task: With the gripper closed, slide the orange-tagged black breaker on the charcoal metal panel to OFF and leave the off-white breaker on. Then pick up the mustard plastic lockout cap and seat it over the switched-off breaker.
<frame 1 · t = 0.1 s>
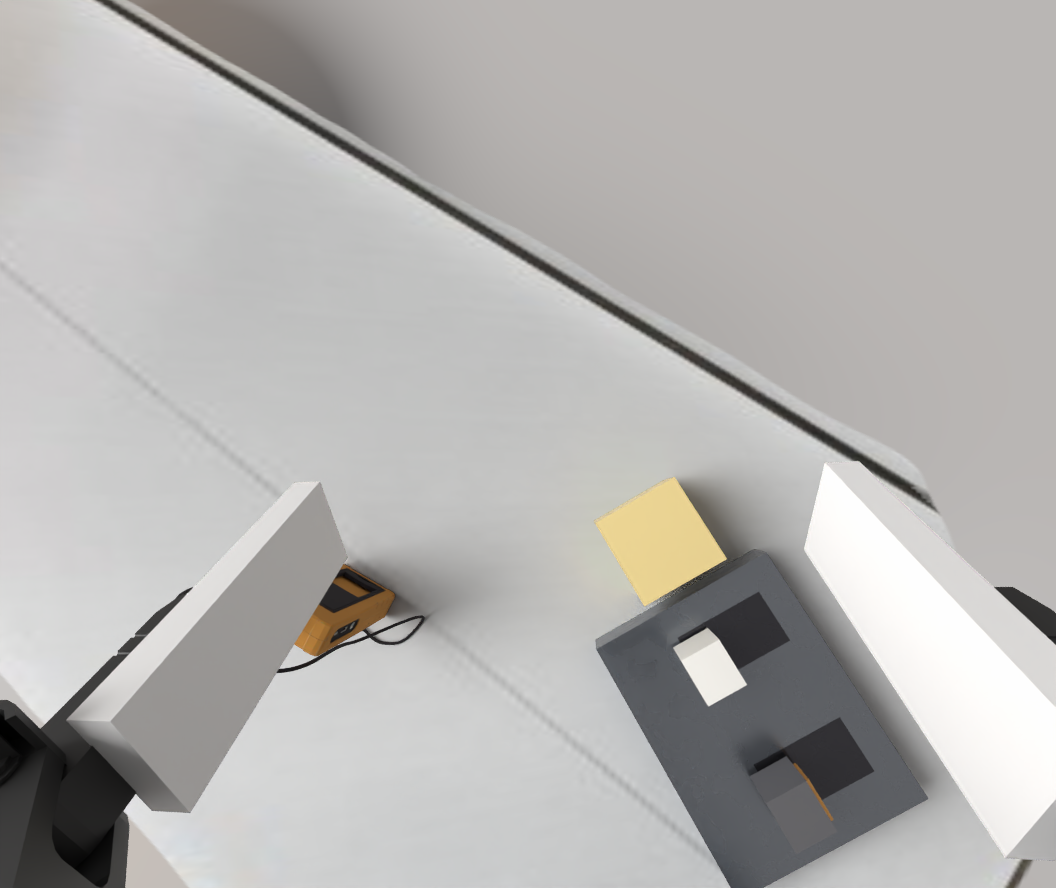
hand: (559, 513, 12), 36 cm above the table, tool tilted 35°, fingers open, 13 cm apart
multimeter: (349, 619, 49), on the table
lockout cap: (650, 536, 46), on the table
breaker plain: (707, 665, 40), point 5 cm above the table, slide at 0.0 cm
breaker panel: (741, 705, 44), on the table
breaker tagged: (792, 801, 37), point 5 cm above the table, slide at 0.0 cm
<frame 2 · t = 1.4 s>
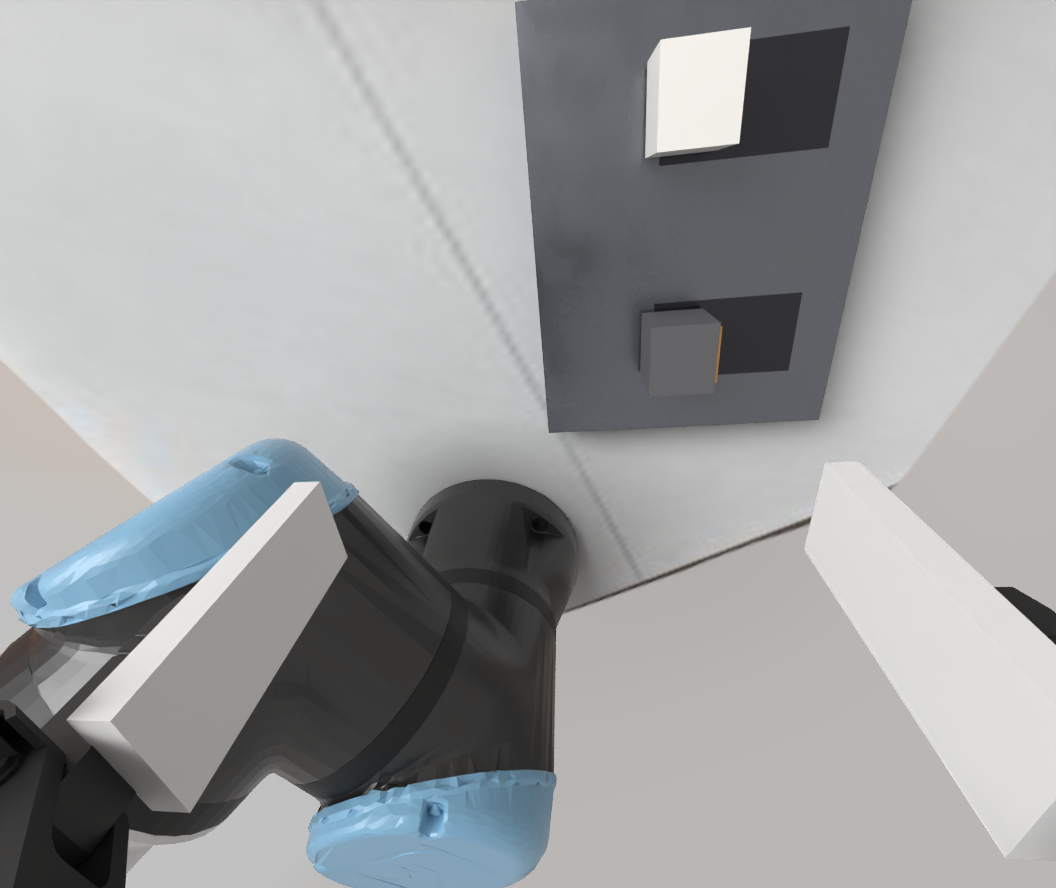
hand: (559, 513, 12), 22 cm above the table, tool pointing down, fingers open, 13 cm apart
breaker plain: (691, 101, 21), point 5 cm above the table, slide at 0.0 cm
breaker panel: (680, 241, 29), on the table
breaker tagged: (679, 351, 27), point 5 cm above the table, slide at 0.0 cm
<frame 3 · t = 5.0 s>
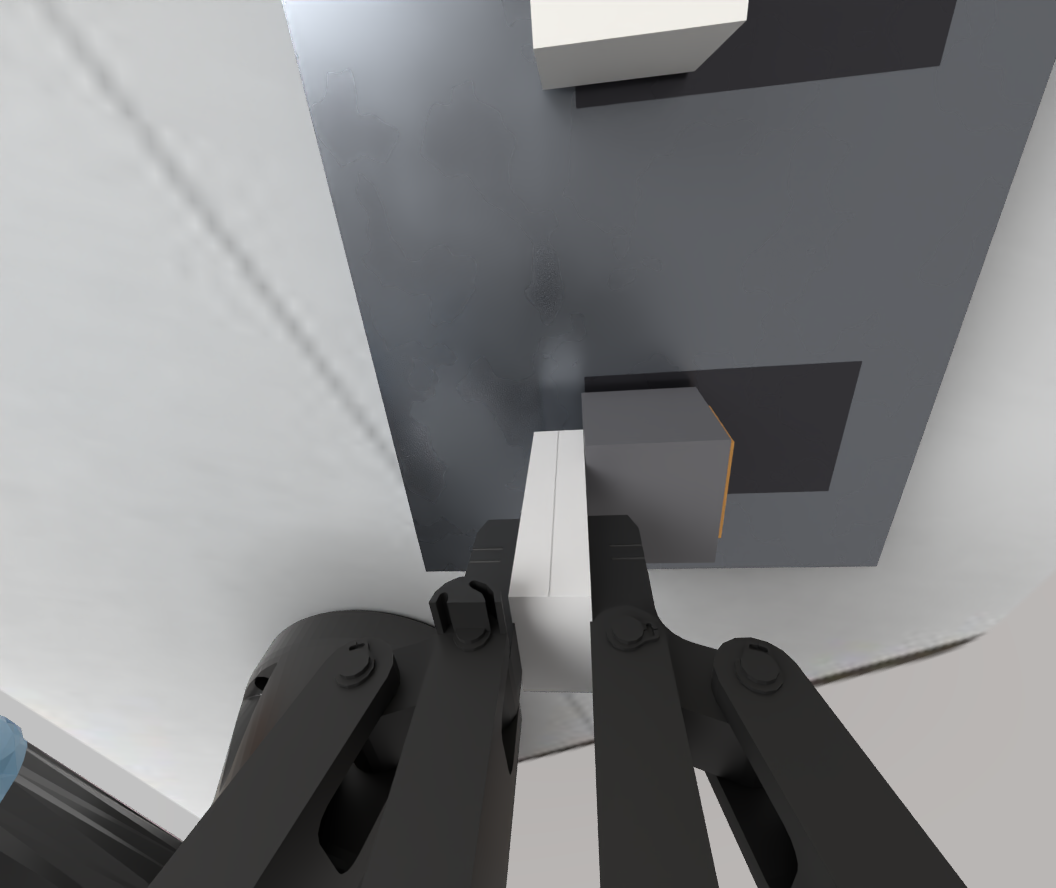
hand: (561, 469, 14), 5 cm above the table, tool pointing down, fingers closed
breaker panel: (636, 259, 16), on the table
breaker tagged: (649, 472, 14), point 5 cm above the table, slide at 0.7 cm, touching gripper
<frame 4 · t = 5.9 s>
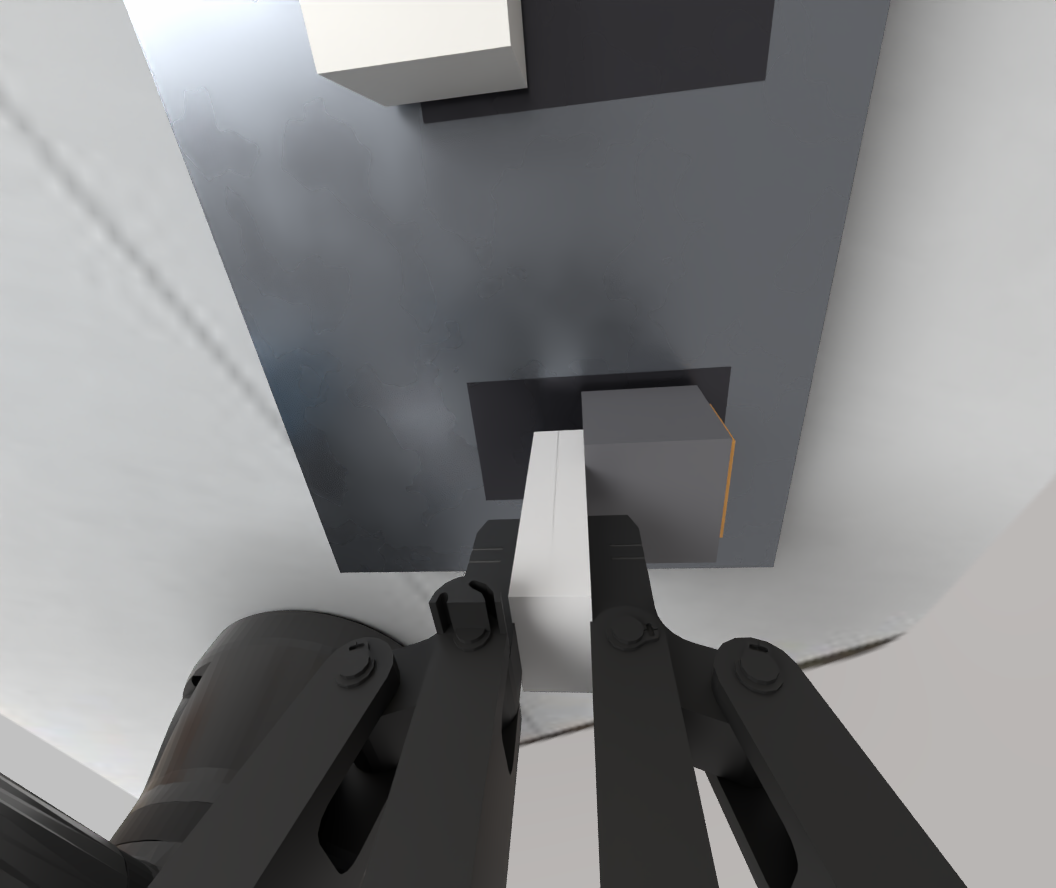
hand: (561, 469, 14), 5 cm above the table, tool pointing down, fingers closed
breaker panel: (524, 267, 16), on the table
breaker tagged: (649, 471, 14), point 5 cm above the table, slide at 4.6 cm, touching gripper
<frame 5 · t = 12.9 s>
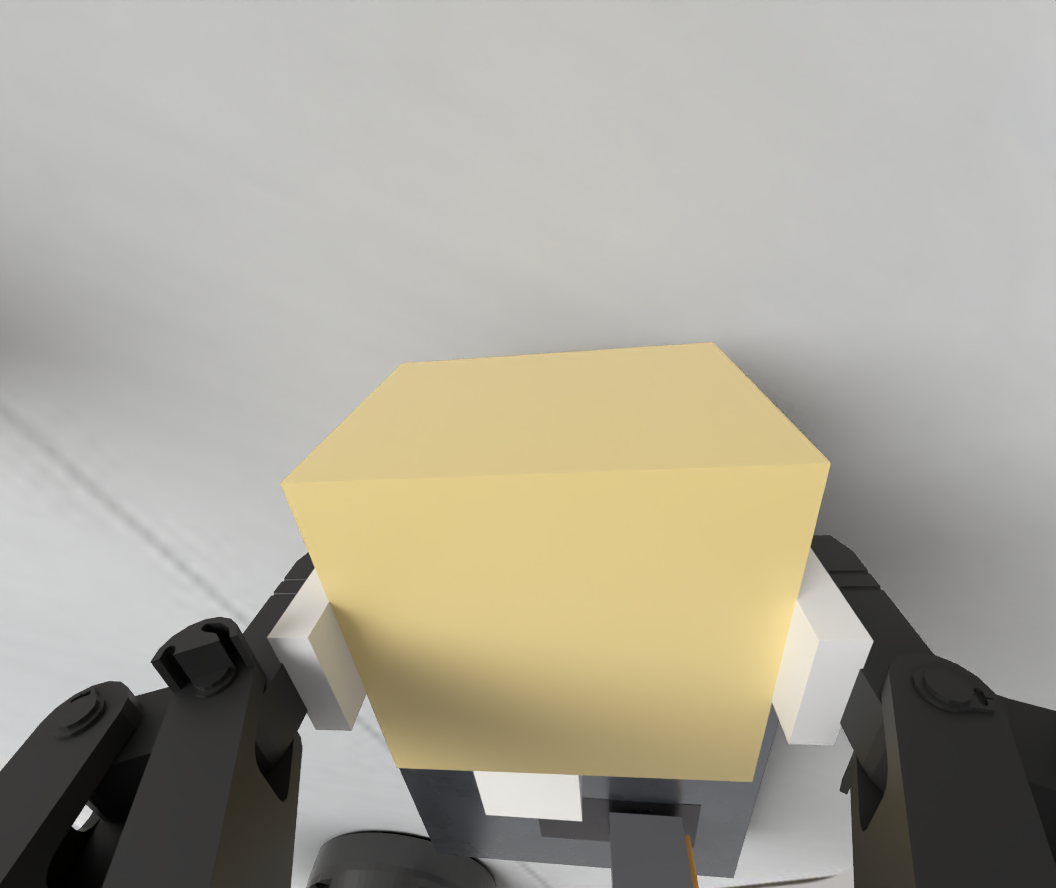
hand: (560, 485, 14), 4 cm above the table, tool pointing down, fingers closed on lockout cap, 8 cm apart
lockout cap: (560, 483, 14), point 3 cm above the table, touching gripper
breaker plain: (532, 737, 18), point 5 cm above the table, slide at 0.0 cm
breaker panel: (569, 705, 25), on the table
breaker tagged: (651, 877, 23), point 5 cm above the table, slide at 4.7 cm
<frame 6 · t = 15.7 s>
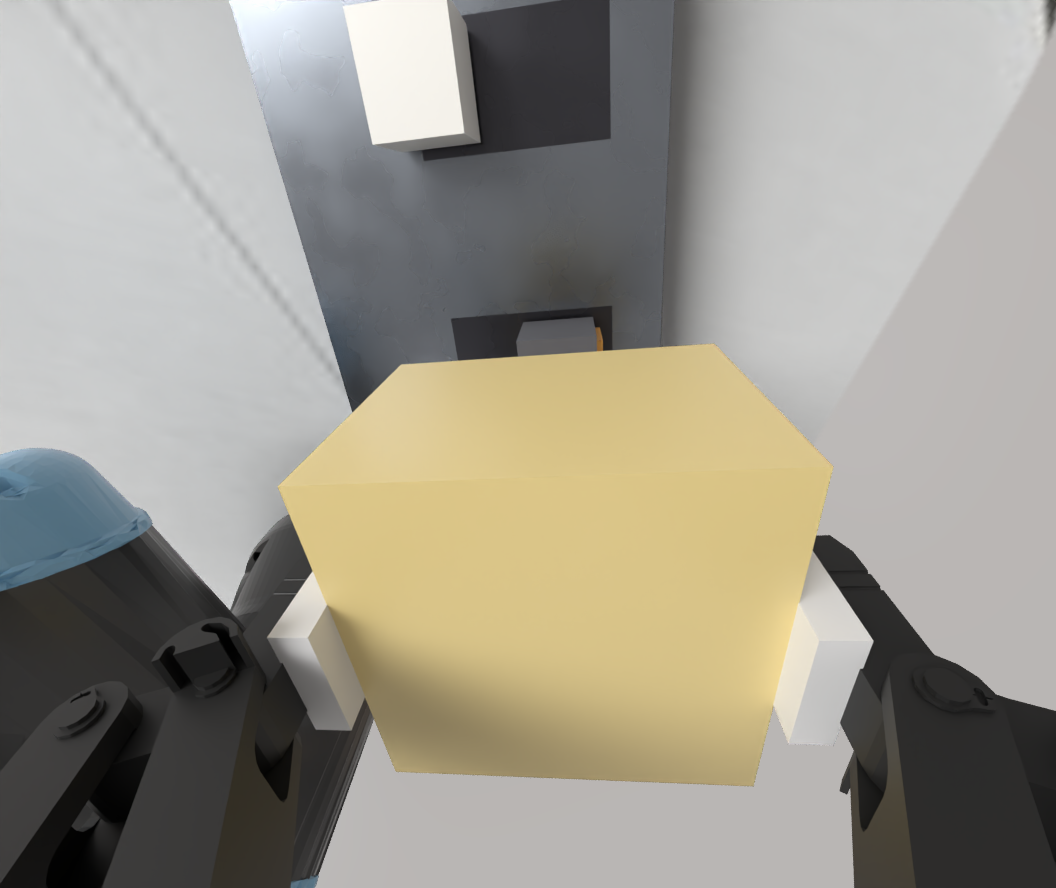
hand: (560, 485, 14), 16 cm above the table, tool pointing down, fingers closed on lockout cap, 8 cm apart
lockout cap: (560, 485, 14), point 16 cm above the table, touching gripper
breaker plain: (420, 83, 18), point 5 cm above the table, slide at 0.0 cm
breaker panel: (488, 246, 26), on the table
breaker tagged: (562, 367, 23), point 5 cm above the table, slide at 4.7 cm
when the fingers open (4 cm above the table, at t = 18.4 s): lockout cap stays where it is, resting on breaker panel.
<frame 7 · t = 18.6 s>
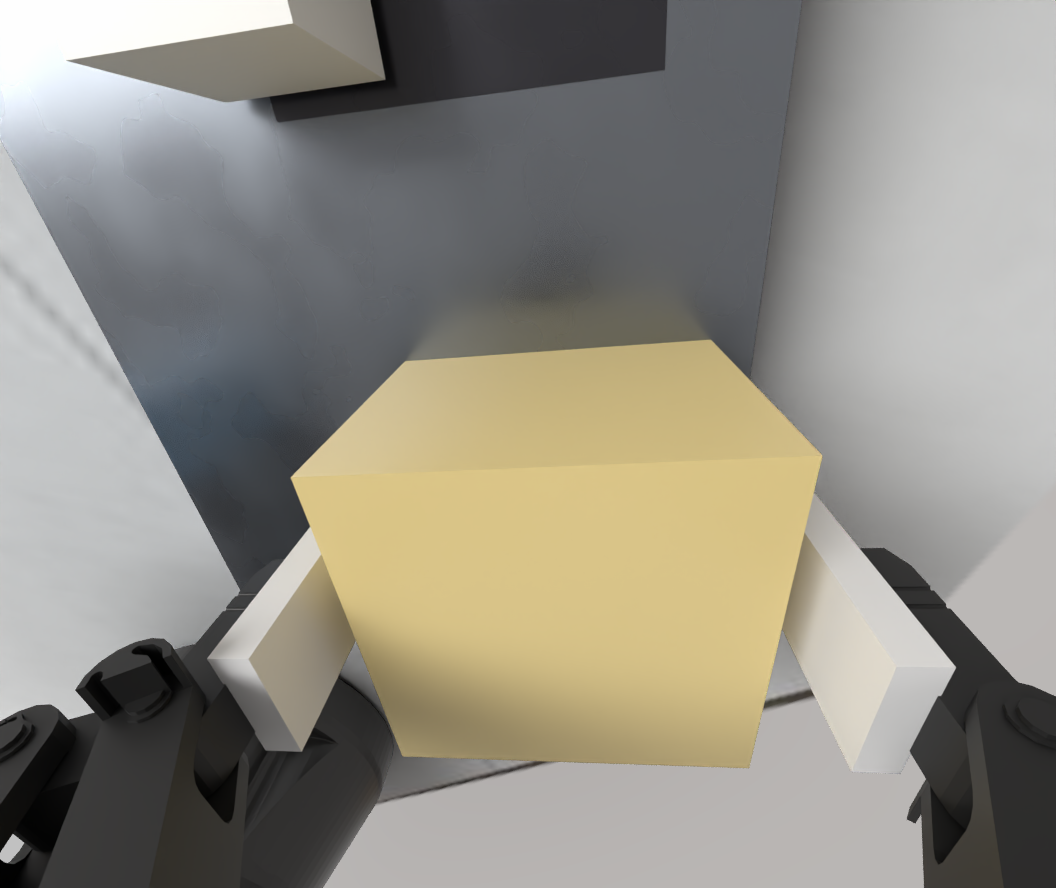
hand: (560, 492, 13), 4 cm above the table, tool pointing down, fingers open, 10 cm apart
lockout cap: (561, 479, 14), point 3 cm above the table, touching breaker panel
breaker panel: (433, 282, 15), on the table
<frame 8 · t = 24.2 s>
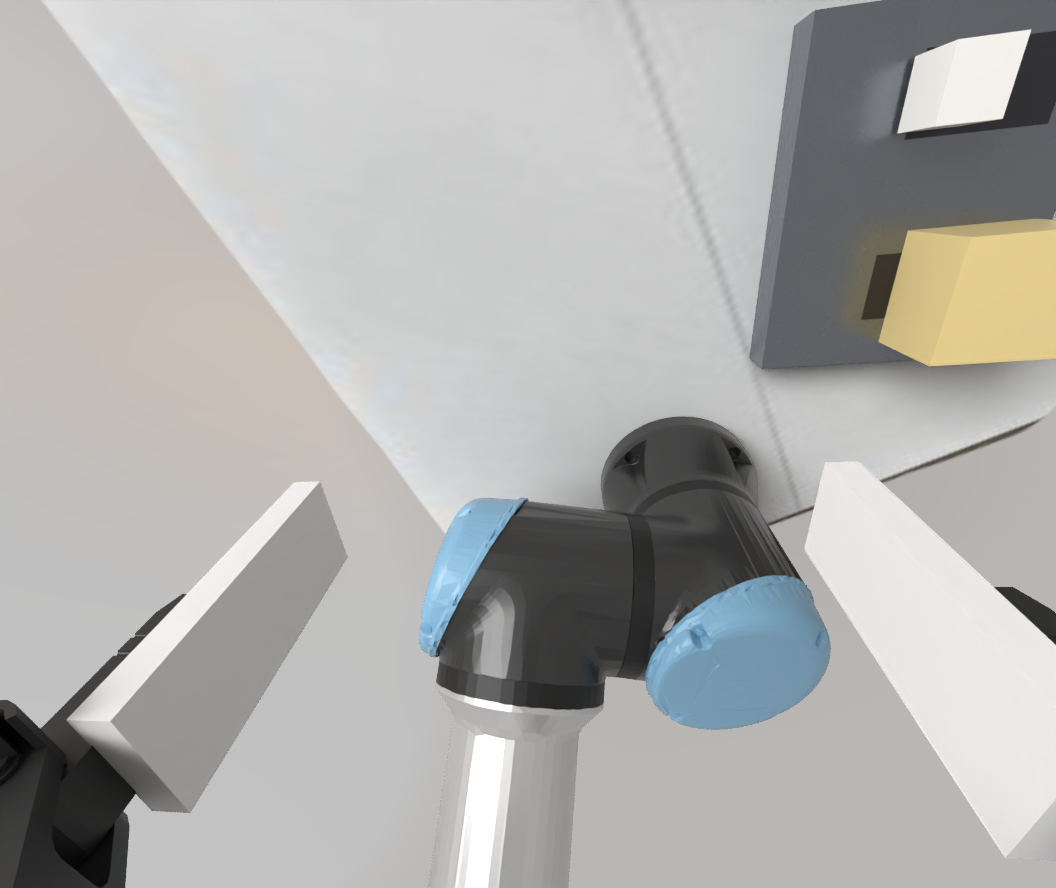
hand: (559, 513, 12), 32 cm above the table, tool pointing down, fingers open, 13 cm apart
lockout cap: (951, 284, 35), point 3 cm above the table, touching breaker panel
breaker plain: (957, 86, 28), point 5 cm above the table, slide at 0.0 cm
breaker panel: (892, 204, 35), on the table
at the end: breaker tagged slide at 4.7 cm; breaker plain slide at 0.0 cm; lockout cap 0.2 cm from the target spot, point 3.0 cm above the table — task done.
